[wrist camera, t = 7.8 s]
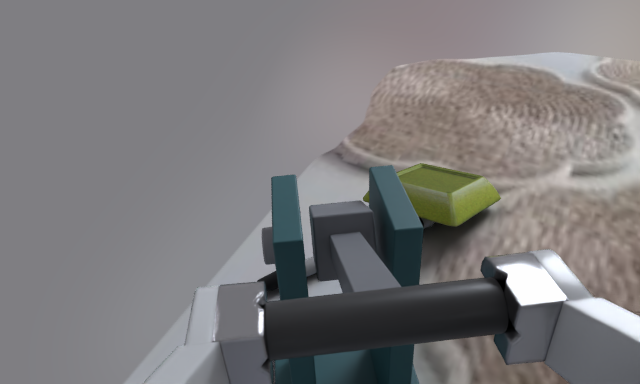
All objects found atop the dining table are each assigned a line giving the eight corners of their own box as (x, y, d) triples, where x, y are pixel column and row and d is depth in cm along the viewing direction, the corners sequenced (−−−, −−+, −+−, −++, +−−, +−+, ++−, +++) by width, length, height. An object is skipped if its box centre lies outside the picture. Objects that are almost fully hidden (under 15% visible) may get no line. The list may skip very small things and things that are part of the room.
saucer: (415, 157, 44) (414, 178, 45) (360, 177, 38) (359, 200, 39) (505, 175, 39) (502, 198, 39) (458, 201, 33) (455, 228, 33)
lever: (512, 370, 10) (507, 258, 9) (271, 400, 9) (259, 285, 9) (398, 252, 19) (394, 196, 19) (280, 265, 19) (274, 208, 19)
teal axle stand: (444, 518, 20) (489, 283, 13) (284, 540, 20) (236, 311, 12) (391, 337, 29) (400, 133, 21) (279, 350, 28) (248, 147, 21)
